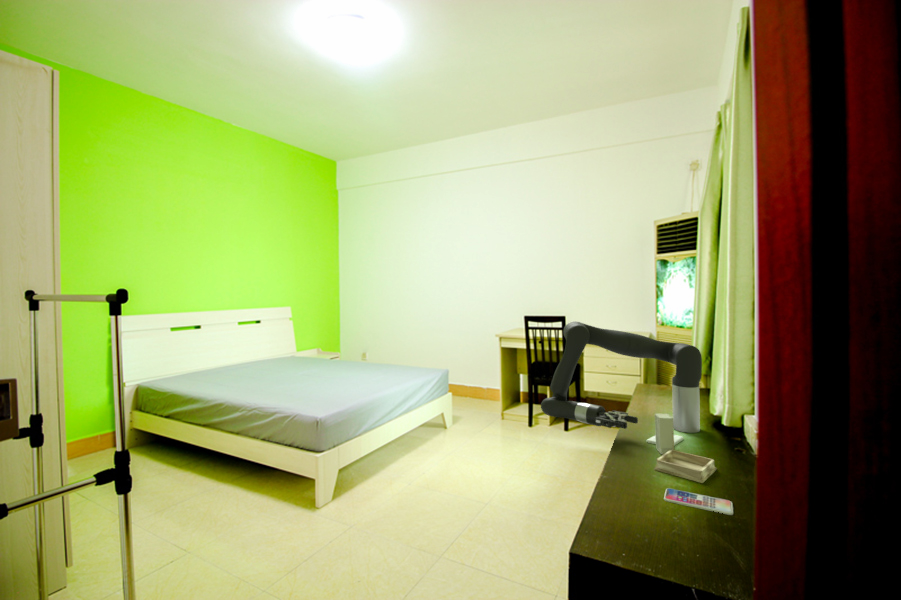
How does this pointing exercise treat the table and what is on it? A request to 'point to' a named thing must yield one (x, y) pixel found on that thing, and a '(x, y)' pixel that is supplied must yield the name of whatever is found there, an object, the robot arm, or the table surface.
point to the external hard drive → (676, 439)
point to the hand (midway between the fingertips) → (632, 423)
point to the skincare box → (664, 433)
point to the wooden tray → (686, 465)
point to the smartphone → (699, 501)
